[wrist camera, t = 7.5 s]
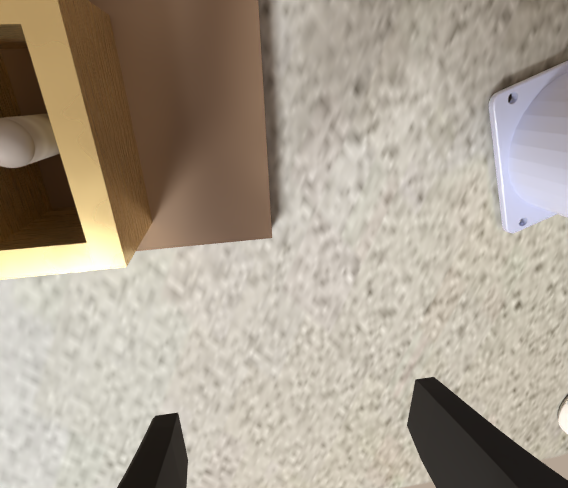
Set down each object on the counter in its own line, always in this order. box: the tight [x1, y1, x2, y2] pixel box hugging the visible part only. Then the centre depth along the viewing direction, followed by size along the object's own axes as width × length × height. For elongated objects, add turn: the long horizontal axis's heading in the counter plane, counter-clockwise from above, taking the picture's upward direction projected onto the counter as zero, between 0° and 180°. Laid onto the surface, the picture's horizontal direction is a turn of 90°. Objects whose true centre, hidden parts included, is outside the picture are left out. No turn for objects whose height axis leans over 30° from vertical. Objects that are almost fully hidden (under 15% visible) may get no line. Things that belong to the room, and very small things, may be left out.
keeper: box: [0, 0, 272, 251], centre depth 12 cm, size 16×11×6 cm
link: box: [0, 0, 153, 280], centre depth 11 cm, size 8×5×4 cm, turn 2°
